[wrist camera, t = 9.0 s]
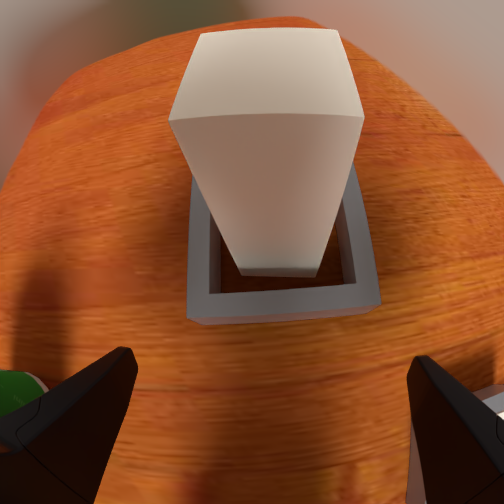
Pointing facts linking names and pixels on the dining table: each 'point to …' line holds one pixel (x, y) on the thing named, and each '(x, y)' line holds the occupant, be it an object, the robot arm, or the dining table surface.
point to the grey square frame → (289, 300)
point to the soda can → (18, 390)
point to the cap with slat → (494, 396)
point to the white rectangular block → (270, 141)
